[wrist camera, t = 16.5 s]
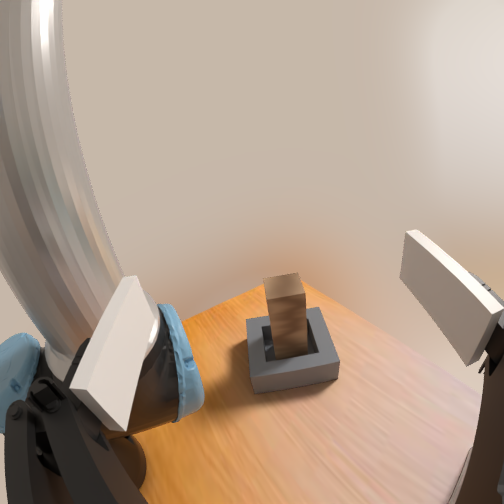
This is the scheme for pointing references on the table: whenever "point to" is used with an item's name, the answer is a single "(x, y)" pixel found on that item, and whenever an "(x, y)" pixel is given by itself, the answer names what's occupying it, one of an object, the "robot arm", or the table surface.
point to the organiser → (292, 369)
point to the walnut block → (287, 315)
